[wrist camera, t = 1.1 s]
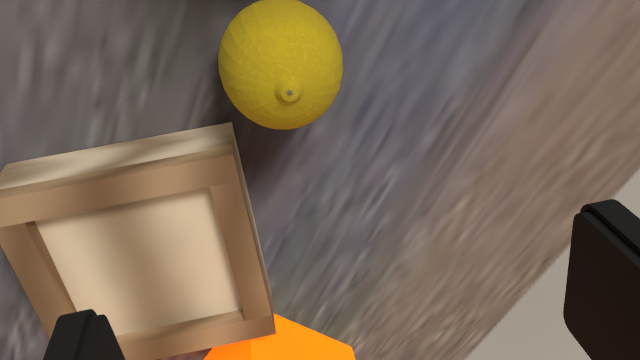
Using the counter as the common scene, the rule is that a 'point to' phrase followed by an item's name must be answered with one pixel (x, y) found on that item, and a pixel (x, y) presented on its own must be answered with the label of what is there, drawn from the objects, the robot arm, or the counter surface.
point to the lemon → (280, 63)
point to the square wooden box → (142, 241)
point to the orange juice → (285, 346)
